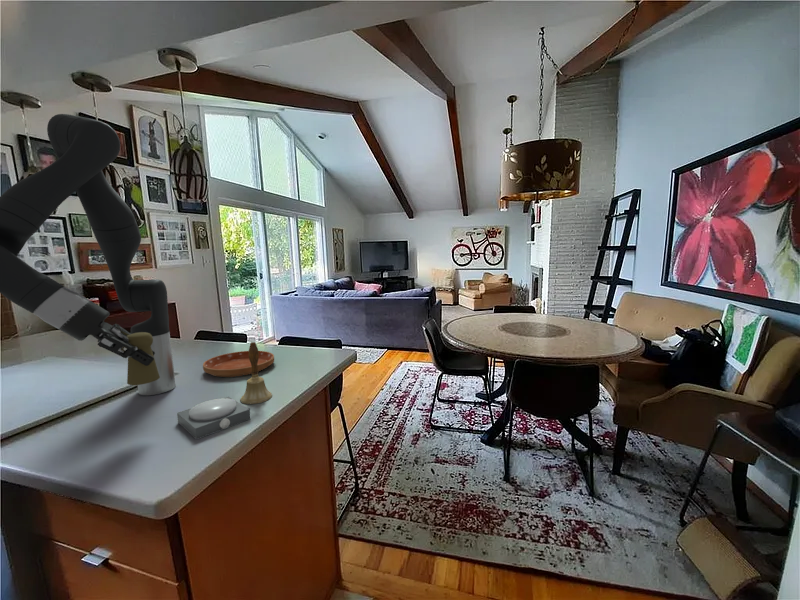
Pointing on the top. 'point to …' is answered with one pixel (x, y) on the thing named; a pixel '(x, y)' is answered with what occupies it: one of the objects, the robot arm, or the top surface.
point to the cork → (138, 370)
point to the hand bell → (255, 381)
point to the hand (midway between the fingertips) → (151, 359)
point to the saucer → (236, 364)
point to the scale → (212, 416)
